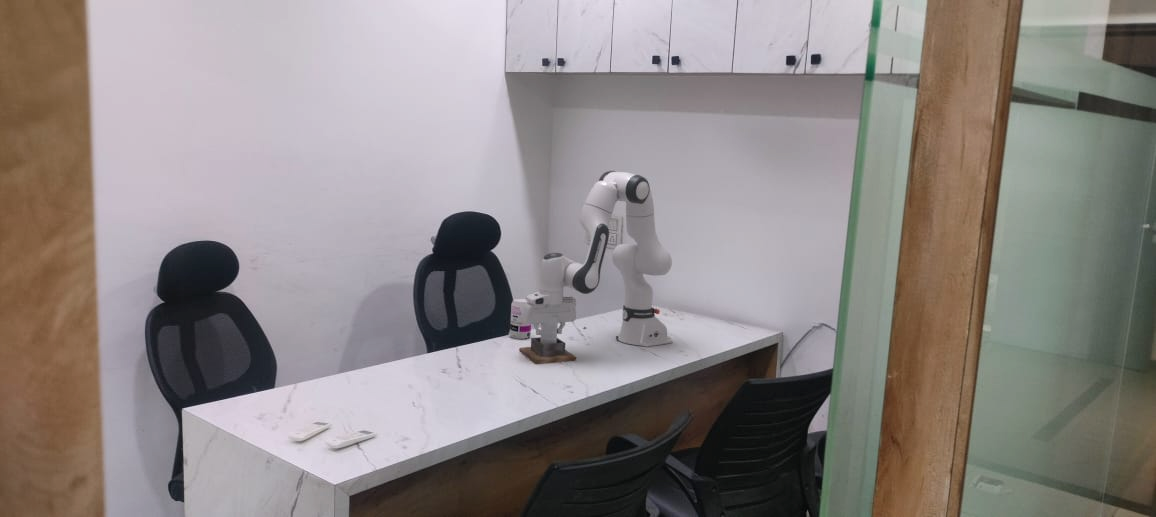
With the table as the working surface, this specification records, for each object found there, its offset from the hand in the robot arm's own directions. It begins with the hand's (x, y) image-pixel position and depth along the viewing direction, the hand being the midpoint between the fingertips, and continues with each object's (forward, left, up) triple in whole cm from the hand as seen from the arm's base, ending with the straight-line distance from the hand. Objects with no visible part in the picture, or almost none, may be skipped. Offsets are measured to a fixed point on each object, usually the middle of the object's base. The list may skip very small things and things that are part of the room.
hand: (548, 334), depth 292 cm
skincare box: (0, 0, -5) cm, 5 cm away
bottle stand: (0, 0, -8) cm, 9 cm away
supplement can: (0, -27, -9) cm, 28 cm away
